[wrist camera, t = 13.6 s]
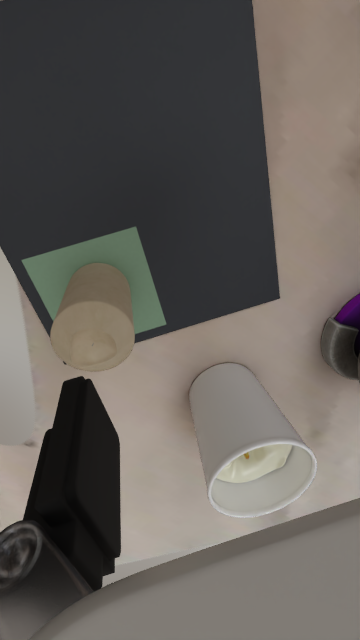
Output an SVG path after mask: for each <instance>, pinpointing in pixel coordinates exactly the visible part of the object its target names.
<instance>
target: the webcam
mask: <svg viewBox="0 0 360 640" xmlns="http://www.w3.org/2000/svg"><path fill="white" fill-rule="evenodd" d="M321 349H322V354H323V357H324V359H325V361H326V362H327V364H328V365H329V366H330V367H331V368H332V369H333V370H334V371H336V372H337V373H338V374H340V375H342V376H344V377H346V378H349V379H352V380H359V383H360V294H358V295H357V296H356V297H354V298H353V299H352V300H351V301H349V302H348V303H347V304H346V305H345V306H344V307H343V309H342V310H341V311H340V312H339V314H338V315H337V317H336V318H335V320H334V319H332V318H329V319H328V321H327V323H326V325H325V328H324V331H323V334H322V340H321Z"/></svg>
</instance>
